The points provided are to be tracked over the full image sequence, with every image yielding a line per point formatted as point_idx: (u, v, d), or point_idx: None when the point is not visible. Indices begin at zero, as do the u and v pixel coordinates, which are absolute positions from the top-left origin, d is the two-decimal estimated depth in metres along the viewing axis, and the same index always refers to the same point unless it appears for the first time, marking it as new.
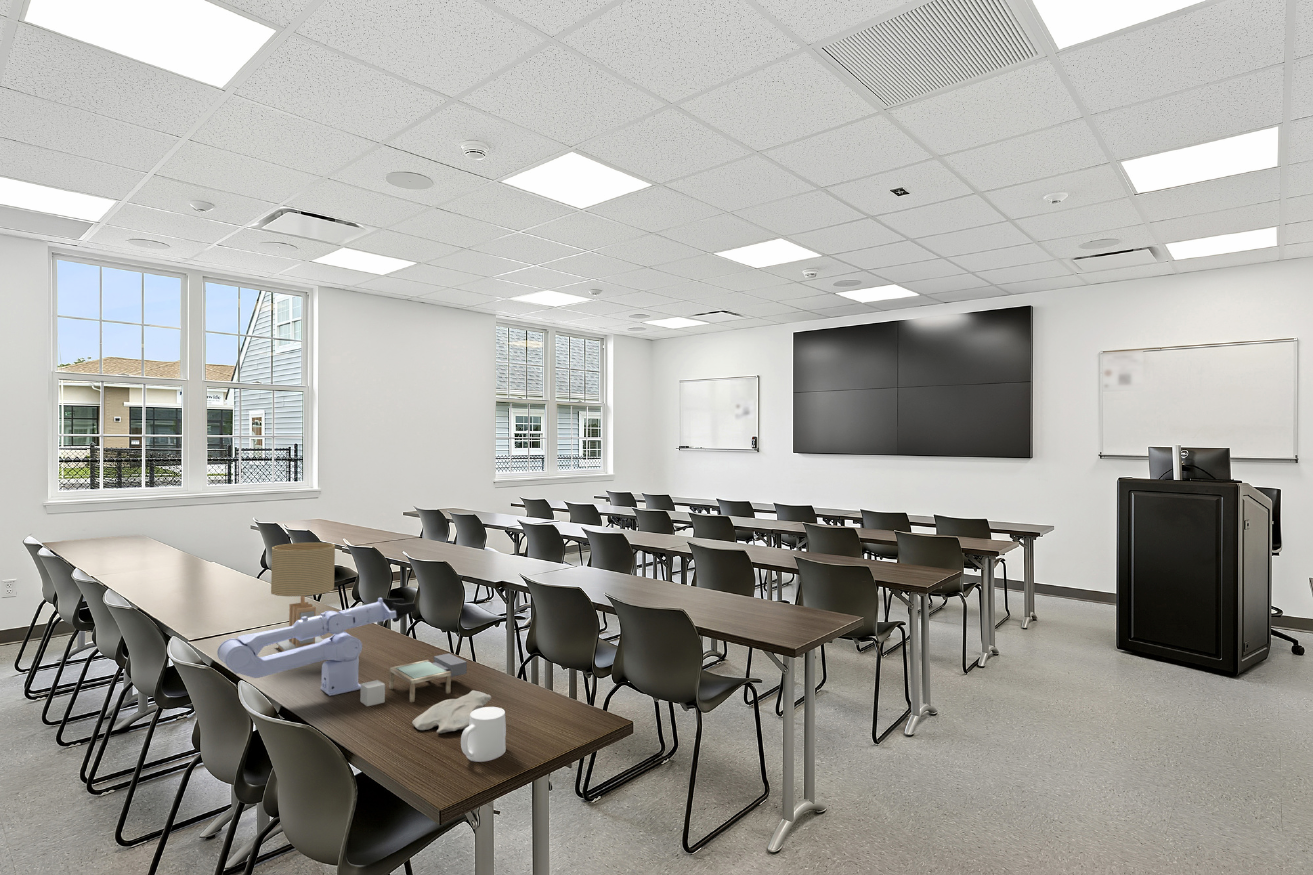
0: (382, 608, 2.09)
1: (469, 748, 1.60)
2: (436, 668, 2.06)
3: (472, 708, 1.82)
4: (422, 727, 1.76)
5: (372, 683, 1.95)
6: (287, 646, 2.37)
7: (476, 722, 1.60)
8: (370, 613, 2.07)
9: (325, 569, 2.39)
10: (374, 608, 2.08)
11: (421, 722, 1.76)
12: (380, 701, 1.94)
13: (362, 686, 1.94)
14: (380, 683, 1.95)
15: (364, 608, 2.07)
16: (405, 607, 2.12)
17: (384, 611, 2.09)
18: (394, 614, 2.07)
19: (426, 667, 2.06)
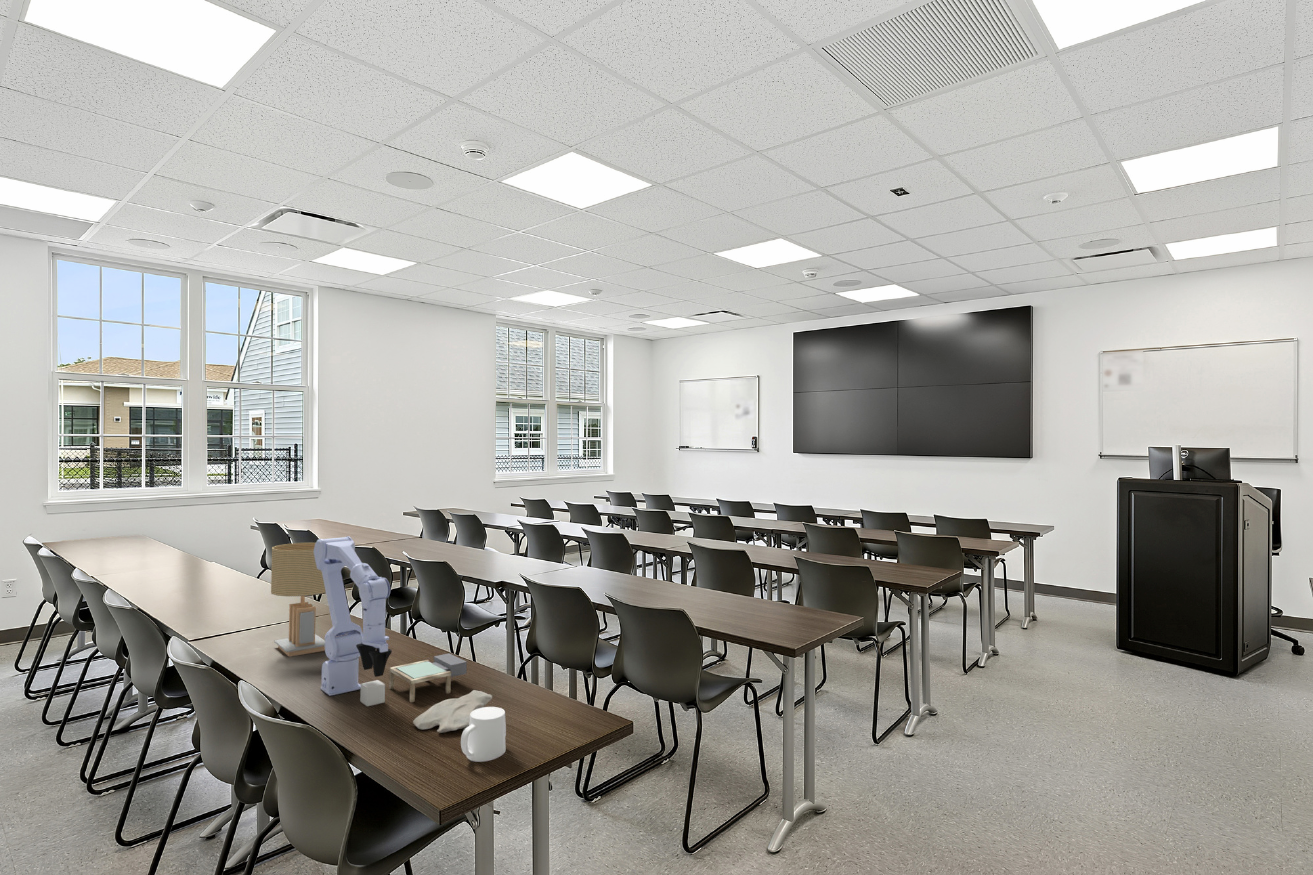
0: (382, 639, 1.94)
1: (469, 748, 1.60)
2: (436, 668, 2.06)
3: (473, 708, 1.82)
4: (423, 726, 1.76)
5: (372, 683, 1.95)
6: (287, 646, 2.37)
7: (476, 722, 1.60)
8: (380, 626, 1.93)
9: None
10: (384, 630, 1.95)
11: (422, 721, 1.77)
12: (380, 701, 1.94)
13: (362, 686, 1.94)
14: (380, 683, 1.95)
15: (373, 623, 1.92)
16: (381, 664, 1.92)
17: (379, 641, 1.93)
18: (384, 649, 1.90)
19: (426, 667, 2.06)
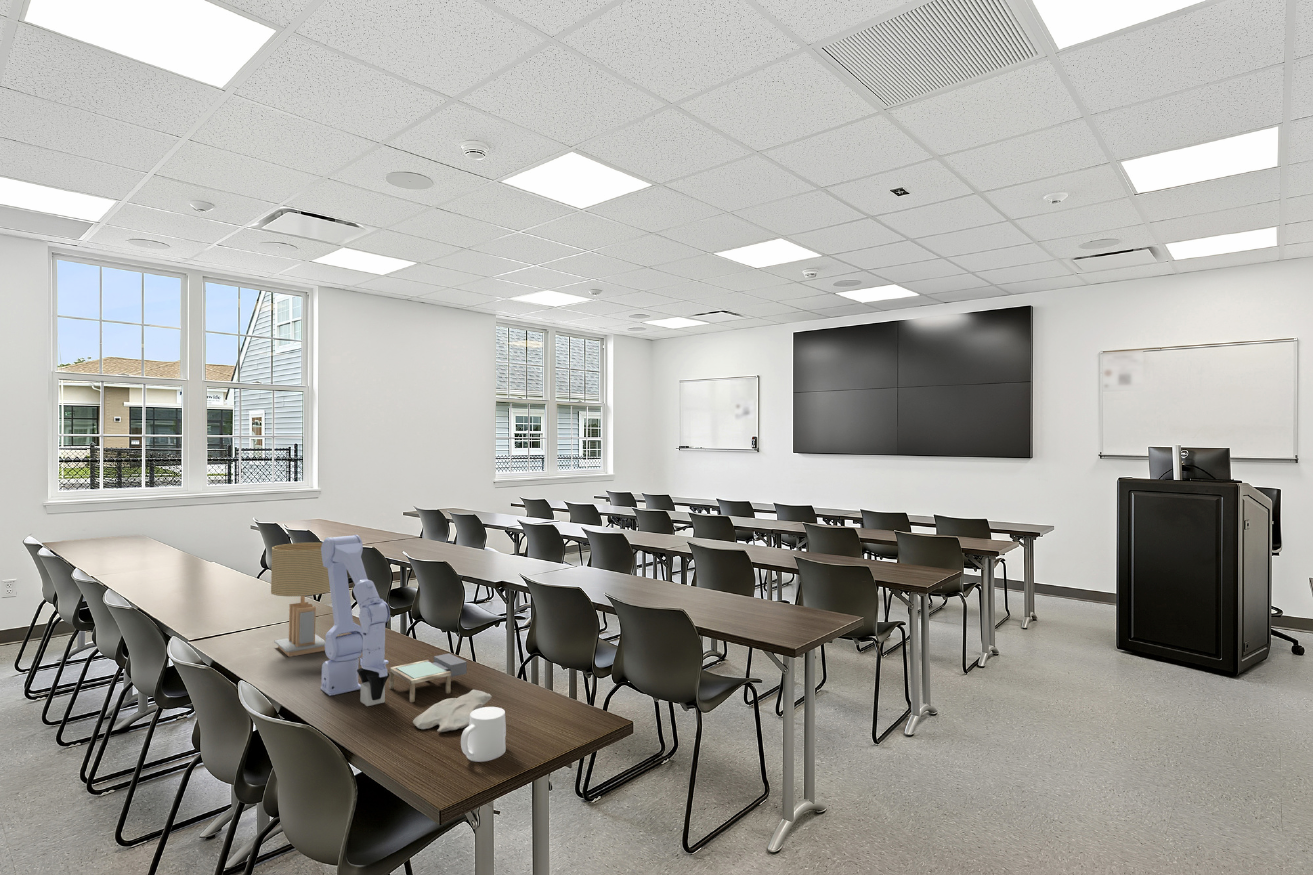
0: (381, 663, 1.94)
1: (469, 748, 1.60)
2: (436, 668, 2.06)
3: (473, 707, 1.82)
4: (423, 726, 1.76)
5: None
6: (287, 646, 2.37)
7: (476, 722, 1.60)
8: (380, 650, 1.93)
9: (325, 569, 2.39)
10: (383, 654, 1.95)
11: (422, 721, 1.77)
12: (380, 701, 1.94)
13: (362, 686, 1.94)
14: None
15: (372, 647, 1.92)
16: (379, 687, 1.93)
17: (379, 666, 1.93)
18: (384, 674, 1.89)
19: (426, 667, 2.06)
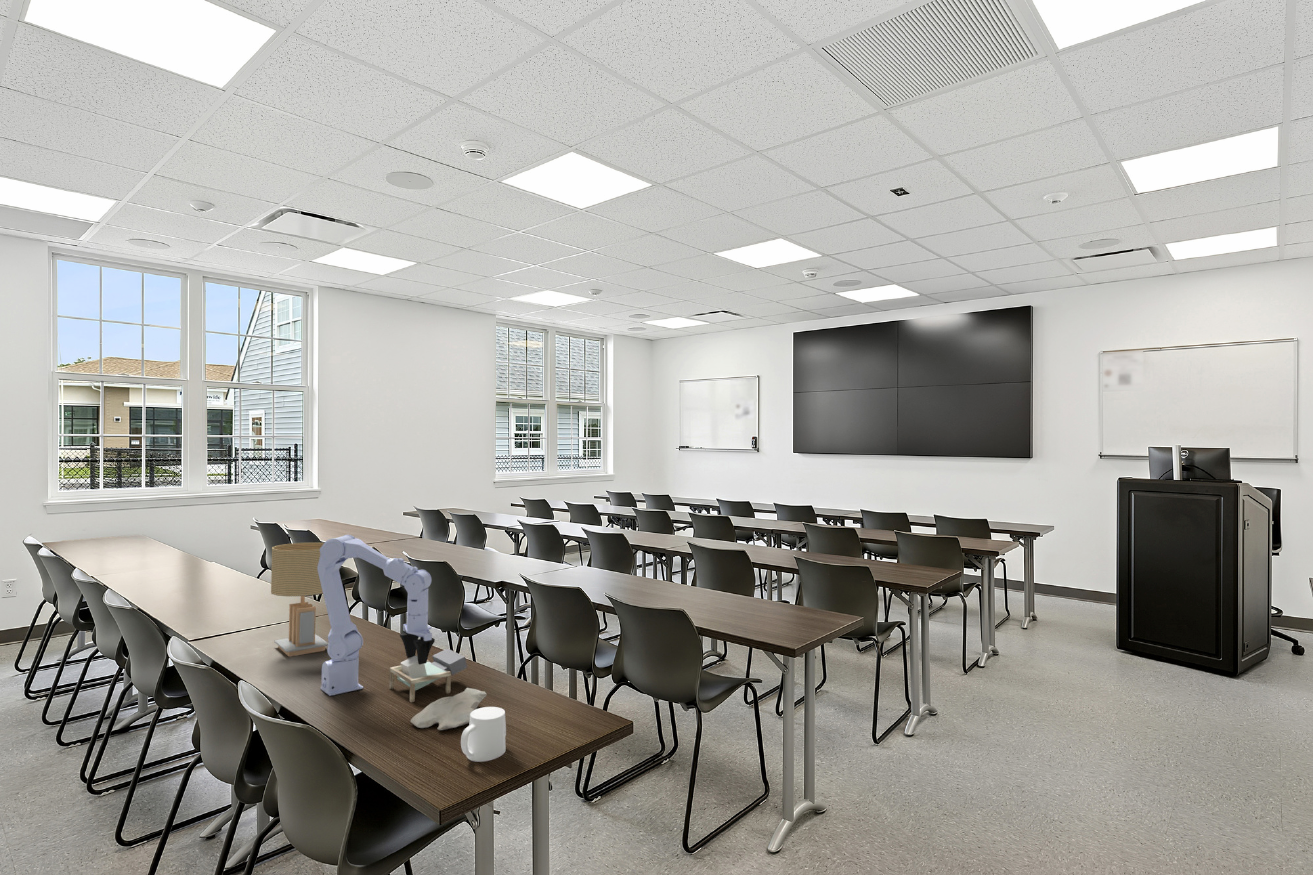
0: (425, 628, 2.02)
1: (469, 748, 1.60)
2: (436, 669, 2.06)
3: (470, 705, 1.84)
4: (422, 725, 1.77)
5: (410, 661, 2.02)
6: (287, 646, 2.37)
7: (476, 722, 1.60)
8: (424, 616, 2.02)
9: None
10: (427, 620, 2.03)
11: (421, 720, 1.77)
12: (422, 675, 2.02)
13: (402, 665, 2.02)
14: None
15: (423, 612, 2.02)
16: (425, 652, 2.01)
17: (423, 630, 2.02)
18: (428, 638, 1.98)
19: (426, 670, 2.06)
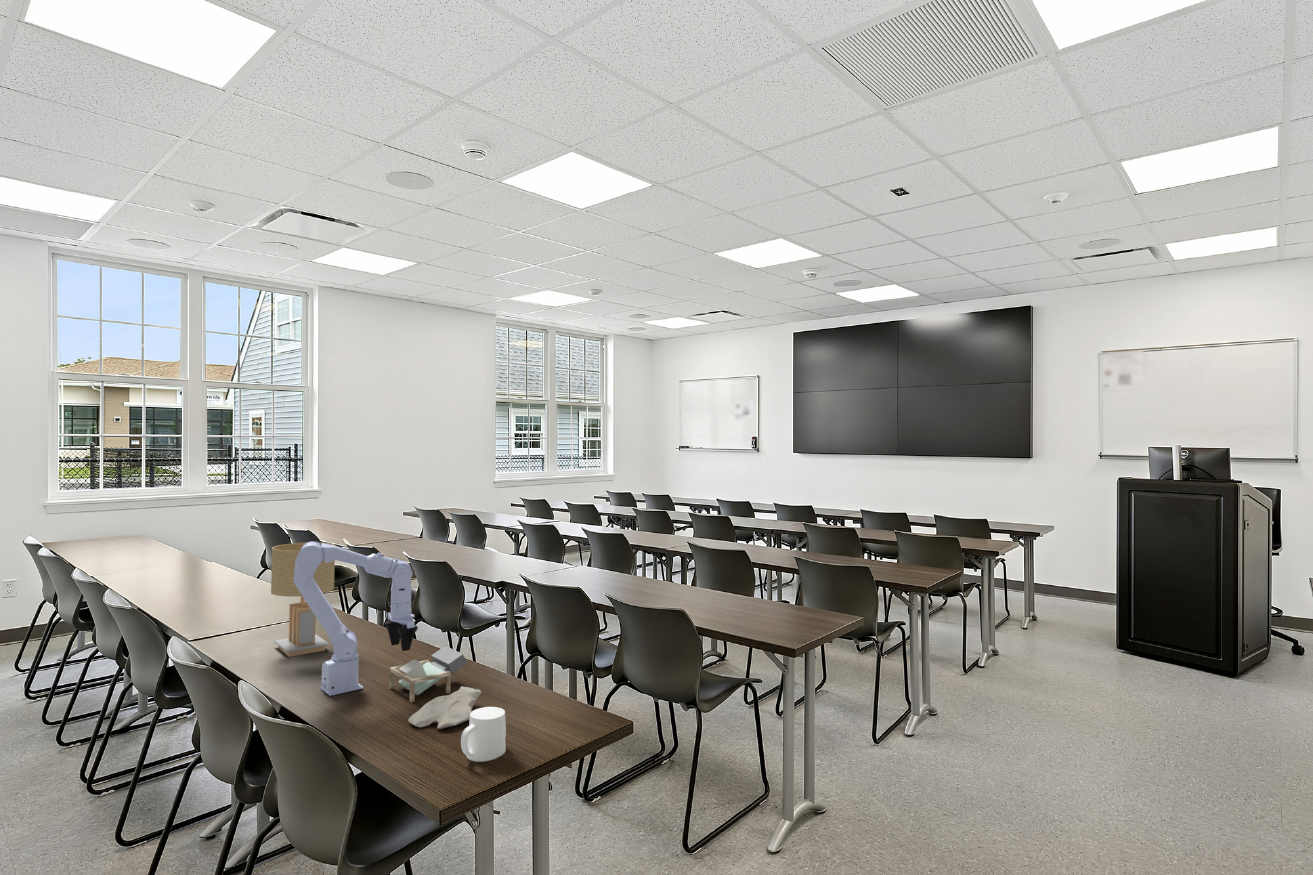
0: (408, 616, 2.10)
1: (469, 748, 1.60)
2: (436, 669, 2.06)
3: (467, 703, 1.85)
4: (420, 724, 1.77)
5: (409, 665, 2.02)
6: (287, 646, 2.37)
7: (476, 722, 1.60)
8: (407, 604, 2.09)
9: (325, 569, 2.39)
10: (410, 608, 2.11)
11: (419, 719, 1.78)
12: None
13: (401, 671, 2.01)
14: (416, 662, 2.02)
15: (409, 600, 2.10)
16: (408, 639, 2.08)
17: (406, 618, 2.09)
18: (411, 625, 2.05)
19: (426, 671, 2.06)
